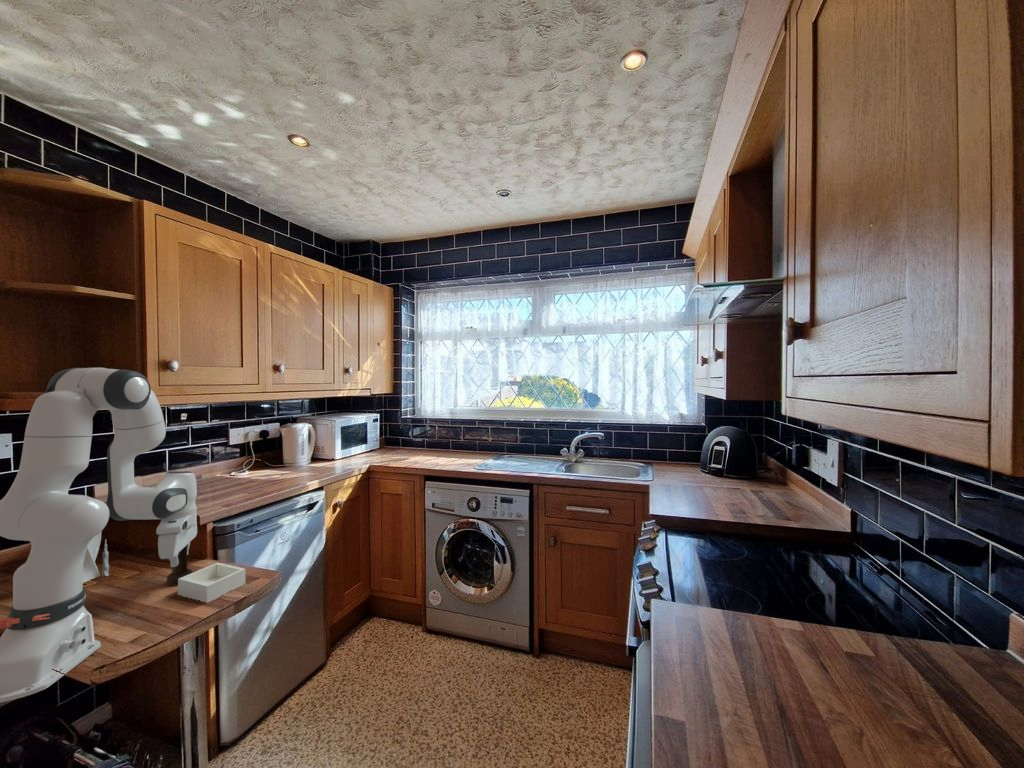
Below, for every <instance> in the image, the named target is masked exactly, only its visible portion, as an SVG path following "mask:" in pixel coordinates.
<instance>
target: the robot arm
mask: <svg viewBox="0 0 1024 768" xmlns="http://www.w3.org/2000/svg"><path fill="white" fill-rule="evenodd" d="M151 388H152V387H151V385H150V382H149V379H148V378H146V376H145V375H143V374H142V373H140V372H138V371H135V370H129V369H115V368H106V367H73V368H72V367H71V368H67V369H63V370H60V371H58V372H56V373H55V374H54V375H53V376H52V377H51V378H50V380H49V381H48V383H47V386H46V390H45V393H43V394H41V395H40V396H38V397H37V398H36V399H35V401H34V403H33V405H32V407H31V410H30V412H29V416H28V418H27V423H26V427H25V432H24V437H23V438H24V439H23V444H22V451H21V457H20V462H19V466H18V467H19V468H18V471H17V474H16V476H15V479H14V481H13V483H12V484H11V486H10V488H9V489H8V491H7V492H6V494H5V496H4V497H2V499H0V537H1V538H5V539H7V540H12V541H13V540H14V541H24V542H30V544H31V547H30V552H29V554H28V557H27V559H26V561H25V562H24V563H23V564H21V565H20V566H18V568H17V569H16V570H15V571H14V573H13V576H12V606H11V607H10V609H9V611H8V614H7V617H5V618H4V617H3V618H0V629H4V628H5V630H4V632H3V633H2V634H1V636H0V703H6V702H9V701H14V700H17V699H22V698H25V697H27V696H28V697H29V696H31V695H34V694H36V693H39V692H41V691H44V690H46V689H47V688H49V687H50V686H52V685H53V684H54V683H56V682H57V681H59V680H60V679H61V678H62V677H64V676H65V675H66V674H68V673H69V672H70V671H71V670H72V669H74V668H75V667H76V666H78V665H79V664H80V663H82V662H83V661H85V660H86V658H88V657H89V656H91V655H92V654H93V653H94V652H96V651H97V650H98V649H99V648H101V647H102V645H101V641H100V640H97V639H95V633H94V623H93V616H92V613H90V612H89V610H87V608H86V607H85V606H84V605H85V604H86V598H87V593H86V588H85V587H84V585H83V562H84V557H85V553H86V550H87V548H88V545H89V543H90V542H91V540H92V539H93V537H95V536H96V535H97V534H99V533H100V532H101V533H102V531H103V530H104V529H105V527H106V526H107V524H108V522H109V519H110V518H111V519H113V520H114V521H130V520H131V521H132V520H147V521H148V520H160V522H159V524H158V526H157V527H156V530H155V531H156V533H155V534H156V535H158V538H157V548H158V557H159V558H160V560H169V562H170V563H169V564H170V568H172V567H176V566H177V565H178V564H179V559H178V553H179V552H180V551H181V550H182V549H183V548H184V547H185V546H187V556H188V555H189V549H190V545H191V541H193V539H195V538H196V537H197V534H198V521H197V520H198V518H197V517H198V513H197V512H198V511H197V510H198V506H197V504H196V500H197V494H198V491H197V490H198V488H197V485H198V483H197V478H196V476H195V473H194V472H193V471H187V470H177V471H176V470H172V471H168V472H166V473H165V474H164V478H163V479H162V480H161V481H160V482H159V483H158V484H156V485H155V486H140V485H138V484H136V482H135V463H134V462H135V458H136V457H137V456H139V455H142V454H144V453H146V452H149V451H151V450H154V449H155V448H157V447H158V446H160V444H161V443H162V442H163V441H164V440H165V438H166V433H167V430H166V424H165V419H164V414H163V410H162V408H161V404H160V402H159V400H158V398H157V395H156V393H155V392H154V391H153V390H152V389H151ZM99 410H106V411H109V412H110V414H111V421H112V425H113V432H114V433H113V435H114V437H113V441H112V442H110V443H109V446H108V448H107V453H106V467H107V468H106V470H107V497H106V501H105V502H104V501H103V500H100V499H98V498H94V497H91V496H89V495H83V494H71V493H70V494H69V491H70V488H71V486H72V483H73V482H74V480H75V478H76V477H77V476H78V475H79V474H81V473H83V472H84V471H85V470H86V469H87V468H88V466H89V465H90V464H89V463H90V455H91V447H92V439H93V429H94V428H93V425H94V424H93V423H94V420H93V418H94V416H95V414H96V413H97V411H99ZM52 669H54V670H57V671H60V672H61V673H64V674H65V675H64V674H61V673H59V672H56V671H54V670H52Z"/></svg>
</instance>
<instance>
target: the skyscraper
mask: <svg viewBox="0 0 1024 768" xmlns="http://www.w3.org/2000/svg"><path fill="white" fill-rule="evenodd" d="M101 540H102V531H101V532H100V533H99V534H97V535H96V536H95V537H93V539H92V540H91V542H90V543H89V545H88V548H87V550H86V553H85V557H84V562H83V583H84V582H87V581H90V580H91V579H94V578H96V577H99V576H101V575H100V571H99V568H98V566H97V564H96V559H97V556H98V554H99V550H100V545H101V542H102V541H101ZM109 573H110V563H109V551H108V544H107V539H104V545H103V552H102V565H101V574H102V577H104V576H107V577H109V575H110V576H111V574H109Z"/></svg>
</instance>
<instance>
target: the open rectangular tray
mask: <svg viewBox="0 0 1024 768" xmlns="http://www.w3.org/2000/svg"><path fill="white" fill-rule="evenodd" d="M244 584H245V585H246V568H243V567H239V566H234V565H230V564H226V563H221V562H216V563H213V564H210V565H208V566H206V567H203V568H201V569H199V570H196V571H193V572H192V573H191V574H189V575H186V576H184V577H181V578H179V579H178V585H177V595H178V596H180V595H181V596H180V597H184V598H187V597H188V599H191V598H192V600H195V599H196V601H198V600H200V601H199V602H203V603H205V602H206V604H207V603H210V602H213V601H214V600H216V599H218V598H220V597H222V596H224V595H226V594H228V593H230V592H232V591H234V589H235V590H236V588H237V589H239V588H240V586H241V587H242V585H243V586H245V585H244ZM238 587H239V588H238ZM231 590H232V591H231ZM229 591H230V592H229ZM227 592H228V593H227ZM225 593H226V594H225ZM223 594H224V595H223ZM221 595H222V596H221Z"/></svg>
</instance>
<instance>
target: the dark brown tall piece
mask: <svg viewBox="0 0 1024 768" xmlns="http://www.w3.org/2000/svg"><path fill="white" fill-rule="evenodd" d="M178 559H179V564H178V565H177V566H176V567H171V572H170V573H169V574H168V575H167V576H166V585H168V586H169V587H171V586H172V587H173V586H174V585H175V586H178V579H179V578H181V577H184V576H186V575H189V574H191V573H193V570H191V569H189V568H188V555H187V546H185V547H184V548H183V549H182V550H181V551H180V552H179V553H178Z"/></svg>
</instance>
